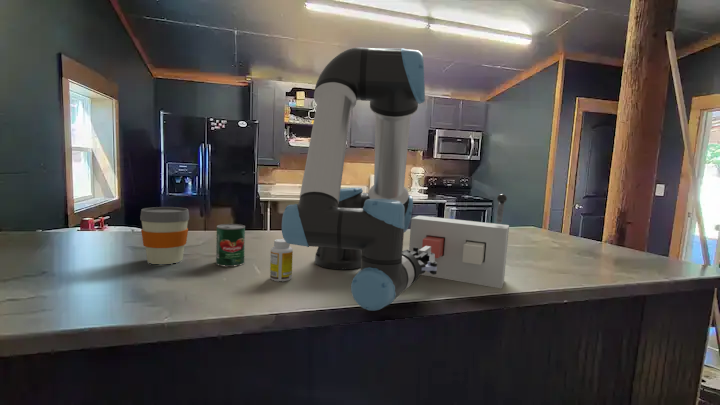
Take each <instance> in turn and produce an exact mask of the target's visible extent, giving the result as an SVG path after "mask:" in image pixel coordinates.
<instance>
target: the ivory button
mask: <svg viewBox="0 0 720 405" xmlns="http://www.w3.org/2000/svg"><path fill="white" fill-rule="evenodd" d="M484 251H485V243H479V242H471V241H467V242H466V243H465V244H464V249H463V261H462V262H466V263H473V264H479V265H481V263H482V262H483V260H484Z"/></svg>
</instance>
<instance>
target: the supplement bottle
mask: <svg viewBox="0 0 720 405" xmlns="http://www.w3.org/2000/svg"><path fill="white" fill-rule="evenodd" d="M293 252H294V251H293V248H292V247H291V244H289V243H287V242H286V241H285V240H284V238H277V239H274V240H273V247H271V249H270V265H269V268H270V269H269V276H270V277H269V278H270V279H271V281H273V280H274V282H279V281H282V282H288V281H290V280H291V279H292V278H293Z"/></svg>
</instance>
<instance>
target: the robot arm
mask: <svg viewBox="0 0 720 405" xmlns="http://www.w3.org/2000/svg"><path fill="white" fill-rule="evenodd" d="M424 61H425V60H424V56H423V53H422V52H421V51H419V50H417V49H407V48H404V47H402V48H387V47H386V48H385V47H384V48H383V47H382V48H381V47H380V48H377V47H375V48H374V47H372V48H371V47H353V48H349V49H347V50H343V51H342V52H340V53H339V54H337V55H336V56H334V58H332V59H331V60H330V61H329V62H328V63H327V64H326V65H325V67H324V68H323V69H322V71H321V73H320V75H319V76H318V79H317V81H316V84H315V88H314V93H313V99H314V103H315V104H316V106H315V107H316V108H315V112H314V119H313V124H312V127H311V128H312V129H311V134H310V140H309V144H308V150H307V156H306V161H305V167H304V172H303V177H302V183H301V188H300V193H299V201H298V203H294V204H288V205H287V206H286V207H285V209H284V211H283V212H282V217H281V235H282V237H283V238H282V239H284V240H285V241H286V242H287V243H289V244H290V245H295V246H300V247H307V248H309V247H317V250H316V252H315V256H314V263H315V265H316V266H318V267H320V268H325V269H330V270H331V269H332V270H354V269H355V270H356V269H359V268H360V270H359V271H358V273H356V274H355V275H354V277H353V278H352V281H351V285H350V291H351V294H352V295H351V296H352V298H353V299H354V301H355V303H357V305H359V307H361V308H362V309H364V310H367V311H372V312H373V311H379V310H381V309H384V308H385V307H387V306H389V305H391V304H392V302H394V300H395V299H396V298H397V297H398V296H400V295H401V294H402V293H404V291H406V290H407V289H408V288H409V287H410V286H412V285H413V284H414V283H415V282H416V281H417V280H418V279H419V277H420V274H423V273H425V271H427V272H430V273H431V274H436V272H437V262H435V261H434V260H435V254H434V253H432V252H431V246H425V247H423V248H421V249H420V250H418V248H416V247H414V248H413V251H412V252H410V250H409V249H405V250H404V249H403V248H404V236H405V234H404V233H405V232H407V231H408V229H409V226H410V225H411V218H412V213H413V208H414V207H413V206H414V198H413V196H411V195H409V191H408V189H407V188H406V186H405V179H406V171H407V170H406V169H407V160H408V158H407V157H408V148H409V139H410V138H409V137H410V128H411V118H412V115H414V114H415V113H416V112H417V111H418V108H419V107H418V106H419V105H421V104H424V103H425V100H426V93H425V92H426V90H425V89H426V88H425V87H426V86H425V62H424ZM357 101H361V102H362V101H364V102H366V101H368V102H369V108H370V111H371V112H372V113H373V114H375V131H374V134H375V136H374V170H373V172H374V173H373V185H372V186H371V187H370V189H369V190H368V192H364V190H363V188H362V187H348V188H347V187H345V188H341V187H342V181H343V180H342V179H343V173H344V167H345V166H344V164H345V158H346V150H347V148H346V147H347V142H348V133H349V125H350V118H351V117H350V116H351V111H352V110H354V108H355V107H356V105H357Z"/></svg>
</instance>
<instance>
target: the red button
mask: <svg viewBox="0 0 720 405" xmlns="http://www.w3.org/2000/svg"><path fill="white" fill-rule="evenodd" d="M444 239H445V238H440V237H432V236H428V237H426V238H424V239H423V244H422V248H423V247H425V246H431V252H432V253H434V254H435V258H439V257H440V256H442V255H443V252H444Z"/></svg>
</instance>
